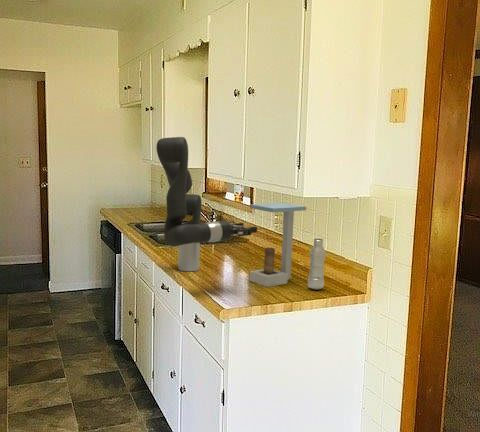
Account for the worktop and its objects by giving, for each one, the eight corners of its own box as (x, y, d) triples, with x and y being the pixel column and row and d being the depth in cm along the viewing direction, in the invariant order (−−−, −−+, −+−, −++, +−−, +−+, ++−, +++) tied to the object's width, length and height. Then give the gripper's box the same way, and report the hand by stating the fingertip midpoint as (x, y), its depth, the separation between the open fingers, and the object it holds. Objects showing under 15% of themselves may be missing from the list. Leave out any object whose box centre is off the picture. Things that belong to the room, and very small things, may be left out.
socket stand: (269, 287, 206) (272, 208, 202) (247, 279, 217) (250, 204, 213) (302, 281, 217) (306, 206, 213) (279, 274, 228) (283, 202, 224)
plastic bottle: (320, 286, 211) (323, 237, 208) (326, 291, 204) (329, 241, 202) (305, 286, 210) (307, 237, 207) (310, 291, 203) (313, 240, 200)
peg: (262, 280, 216) (263, 247, 215) (271, 280, 217) (273, 247, 215) (264, 283, 213) (266, 249, 211) (274, 283, 214) (275, 249, 212)
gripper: (227, 224, 189) (261, 221, 199) (205, 218, 200) (238, 215, 210) (226, 245, 191) (260, 240, 200) (204, 237, 202) (238, 233, 212)
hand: (249, 227), depth 205 cm, fingers open, 8 cm apart
